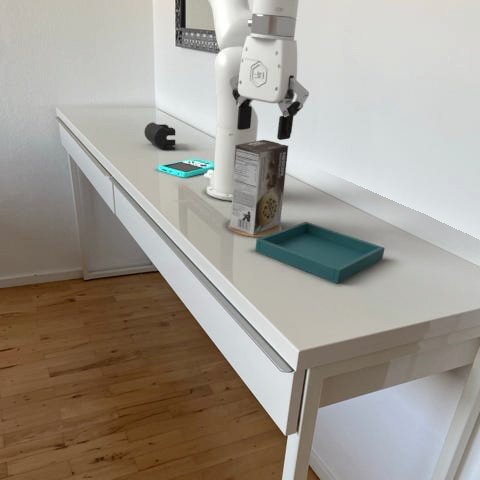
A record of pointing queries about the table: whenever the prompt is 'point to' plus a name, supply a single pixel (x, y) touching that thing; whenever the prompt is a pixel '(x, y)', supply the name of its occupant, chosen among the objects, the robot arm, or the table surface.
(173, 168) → the handheld game console
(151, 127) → the end cap
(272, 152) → the coffee box
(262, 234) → the coaster
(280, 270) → the table surface
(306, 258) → the tray
